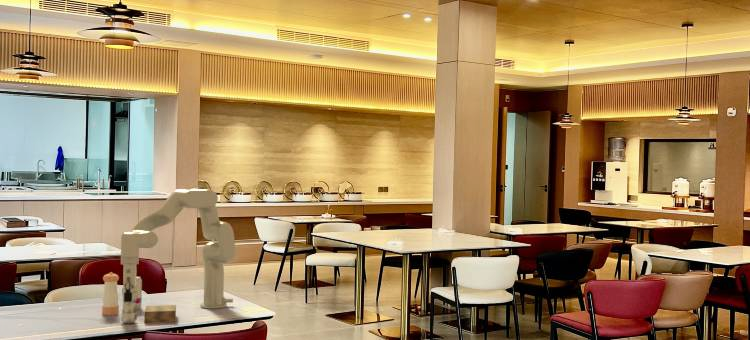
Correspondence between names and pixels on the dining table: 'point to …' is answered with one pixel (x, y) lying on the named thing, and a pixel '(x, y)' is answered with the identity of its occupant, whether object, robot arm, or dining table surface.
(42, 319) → the dining table surface
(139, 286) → the supplement can
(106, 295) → the pepper shaker
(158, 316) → the walnut block
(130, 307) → the plastic bottle
